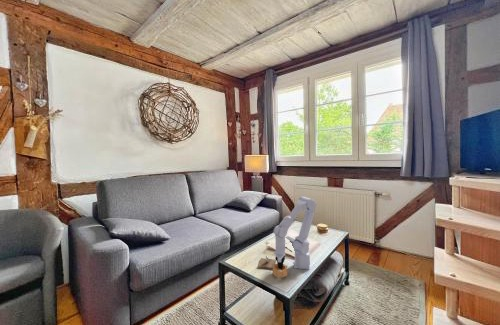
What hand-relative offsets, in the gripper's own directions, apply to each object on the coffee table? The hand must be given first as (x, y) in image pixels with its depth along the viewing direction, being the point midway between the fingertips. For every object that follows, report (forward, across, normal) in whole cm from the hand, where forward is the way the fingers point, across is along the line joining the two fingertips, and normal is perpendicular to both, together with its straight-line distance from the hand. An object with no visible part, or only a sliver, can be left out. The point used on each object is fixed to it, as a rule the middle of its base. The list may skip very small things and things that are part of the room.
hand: (280, 267), depth 128 cm
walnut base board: (+3, -6, -9) cm, 11 cm away
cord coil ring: (+1, +4, 0) cm, 4 cm away
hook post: (+2, -6, -9) cm, 11 cm away
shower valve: (+4, -36, +6) cm, 36 cm away
